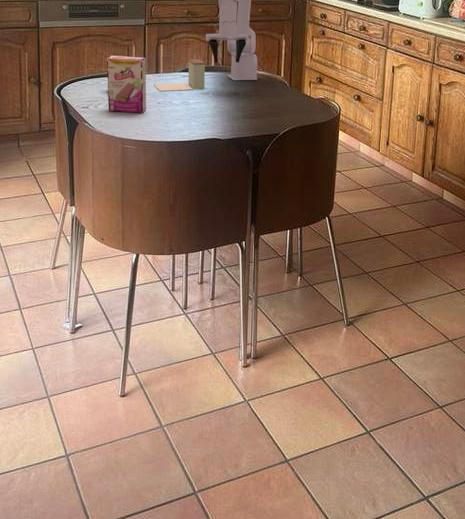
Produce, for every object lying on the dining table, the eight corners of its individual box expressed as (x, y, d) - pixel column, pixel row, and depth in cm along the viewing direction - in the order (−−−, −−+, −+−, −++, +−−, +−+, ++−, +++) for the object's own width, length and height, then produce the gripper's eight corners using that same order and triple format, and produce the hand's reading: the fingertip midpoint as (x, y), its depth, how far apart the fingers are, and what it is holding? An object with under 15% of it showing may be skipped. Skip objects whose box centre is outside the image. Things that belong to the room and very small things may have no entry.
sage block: (199, 84, 265) (199, 59, 261) (204, 88, 259) (204, 62, 255) (188, 84, 264) (188, 59, 260) (193, 89, 258) (193, 63, 254)
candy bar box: (108, 111, 227) (105, 58, 220) (112, 107, 232) (110, 55, 224) (143, 113, 226) (142, 60, 219) (146, 109, 231) (145, 57, 223)
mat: (186, 83, 265) (186, 82, 265) (193, 90, 256) (193, 89, 256) (153, 84, 261) (153, 84, 261) (159, 91, 253) (159, 90, 253)
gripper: (209, 22, 239) (208, 64, 245) (251, 22, 242) (249, 64, 248) (204, 19, 245) (204, 60, 251) (246, 19, 249) (244, 60, 255)
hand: (226, 62), depth 250 cm, fingers open, 7 cm apart
